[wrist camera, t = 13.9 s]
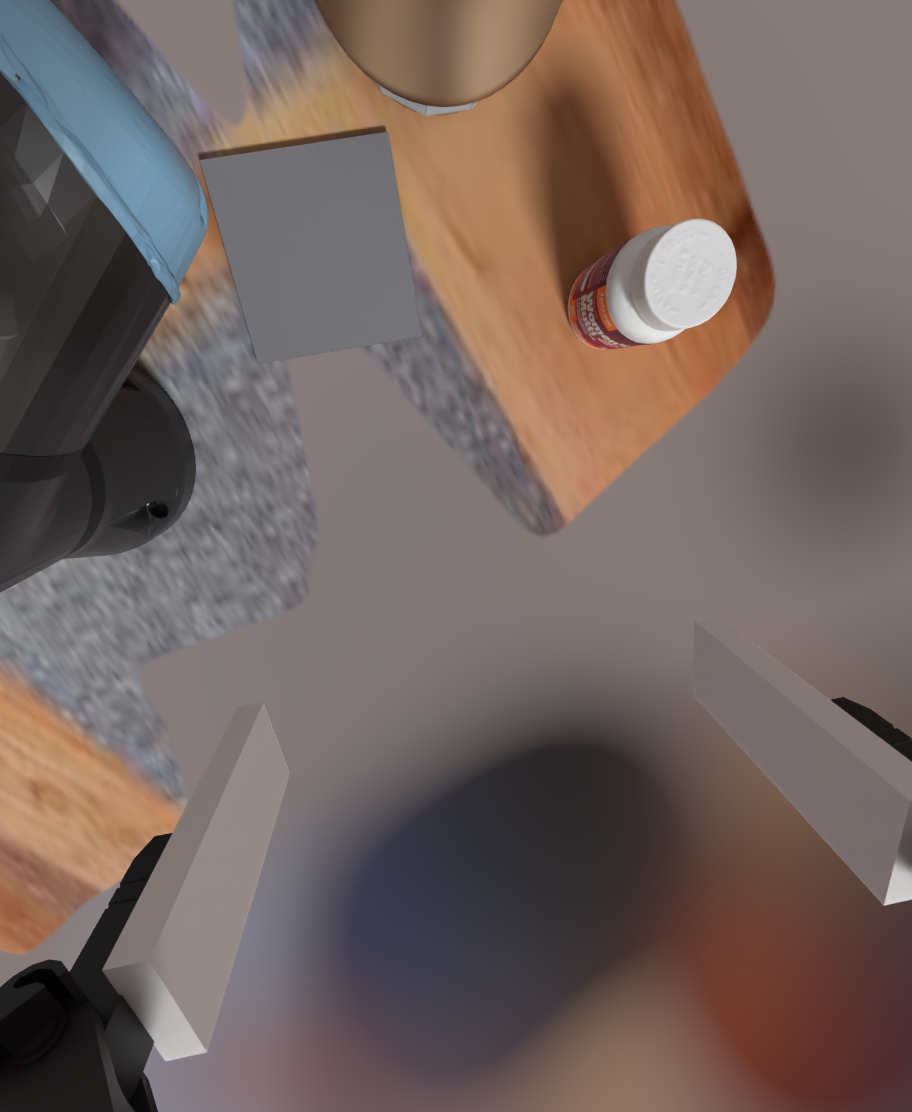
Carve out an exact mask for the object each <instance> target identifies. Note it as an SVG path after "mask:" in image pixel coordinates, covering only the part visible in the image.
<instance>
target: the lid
mask: <svg viewBox="0 0 912 1112" xmlns="http://www.w3.org/2000/svg"><path fill="white" fill-rule="evenodd" d="M315 1H316V3H317V5H318V7H319V10H320V12H321V14H322V16H323V18H324V20H325V22H326V24H327V25H328V27H329V29H330V30H331V32H332V34H333V36H334V37H335V39H336V40H337V42H338V43H339V44H340V46H341V47H342V48H343V50H344V51H345V52H346V54H347V55H348V56H349V58H350V59H351V60H352V61H353V62H354V63H355V64H356V65H357V66H358V67H359V68H360V69H361V70H362V71H363V72H364V73H365V74H366V75H367V76H368V77H370V78H371V79H372V80H373V81H375V82H376V83H377V84H378V85H380V86H381V87H383V88H385V89H386V90H388V91H389V92H391V93H393V94H394V95H397V96H399V97H401V98H403V99H406V100H408V101H411V102H414V103H418V104H422V105H425V106H434V107H455V106H462V105H466V104H470V103H475V102H477V101H479V100H482V99H484V98H487V97H489V96H491V95H493V94H494V93H496V92H497V91H499V90H501V89H502V88H504V87H505V86H506V85H508V84H509V83H510V82H511V81H512V80H514V79H515V78H516V77H517V76H518V75H519V74H520V73H521V72H522V71H523V70H524V69H525V67H526V66H527V65H528V64H529V63H530V62H531V60H532V59H533V58H534V56H535V55H536V53H537V52H538V50H539V49H540V47H541V46H542V44H543V42H544V40H545V39H546V37H547V35H548V33H549V31H550V29H551V27H552V25H553V22H554V20H555V17H556V15H557V13H558V10H559V8H560V5H561V3H562V0H315Z"/></svg>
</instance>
